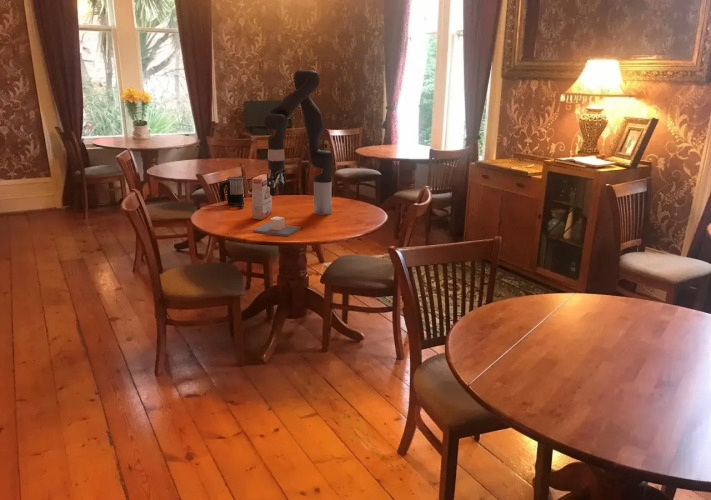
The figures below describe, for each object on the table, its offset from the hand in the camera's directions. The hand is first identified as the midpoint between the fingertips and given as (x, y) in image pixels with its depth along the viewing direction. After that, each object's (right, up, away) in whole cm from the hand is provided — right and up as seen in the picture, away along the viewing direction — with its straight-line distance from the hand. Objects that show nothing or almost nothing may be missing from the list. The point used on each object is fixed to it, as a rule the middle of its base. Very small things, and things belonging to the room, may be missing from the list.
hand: (276, 193), depth 262 cm
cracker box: (-11, -9, +30) cm, 33 cm away
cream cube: (0, -16, +5) cm, 17 cm away
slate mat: (-1, -17, +6) cm, 18 cm away
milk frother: (-29, -2, +50) cm, 58 cm away
